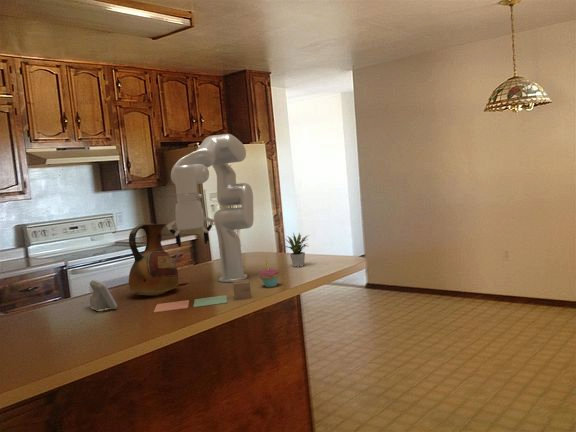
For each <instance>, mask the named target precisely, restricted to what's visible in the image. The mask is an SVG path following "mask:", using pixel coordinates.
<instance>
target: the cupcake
mask: <svg viewBox="0 0 576 432" xmlns="http://www.w3.org/2000/svg"><path fill="white" fill-rule="evenodd" d="M265 263H266V268H264V269H262V270H261V271H260V272H259V274H258V278H259V279H260V280H261V281H262V283H263V285H264V287H265V288H273V287H276V286H277V284H278V280H279V278H280V276H281V273H280V271H279V270H278V269H275V268H272V267H269V262H268V259H267V257H265Z"/></svg>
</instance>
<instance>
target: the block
mask: <svg viewBox="0 0 576 432" xmlns="http://www.w3.org/2000/svg"><path fill="white" fill-rule="evenodd" d="M232 285H233V286H232V288H233V295H234V301H239V300H248V299H252V293H251V281H250V279H247V278H246V279H244V280H239V281H233V282H232Z"/></svg>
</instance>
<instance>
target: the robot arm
mask: <svg viewBox="0 0 576 432" xmlns="http://www.w3.org/2000/svg"><path fill="white" fill-rule="evenodd" d="M246 156H247V150H246V146H245V145H244V144H243V142H242V141H240V139H238V138H237V137H236V136H234V135H233V134H230V133H223V134H215V135H210V136H207V137H205V138H204V139H203V140H202V142H201V143H200V145H199V146H198V147H197V149H196V150H194V151H192V152H190V153H188V154H186V155H185V156H183V157H180V159H178V160H177V161H176V163H175V164H174V165H173V166H172V168H171V171H170V180H171V182H172V184H174V185H175V191H176V192H175V193H176V201H177V203H175V219H174V220H172V221H170V222H169V223H168V224H166V228H167V230H168V231H169V232H170V234H172V235H174V236H175V242H176V245H177V246H178V248H179V247H181V246H182V241H181V239H182V238H181V235H180V233H181V231H189V230H190V231H191V230H199V229H201V230H202V231H203V237H204V238H203V239H204V244H206V245H207V244H208V242H209V231H210V230H211V229H212V227H213V225H214V227H215V231H216V234H217V235H216V236H217V241H218V242H217V243H218V251H219V259H220V267H221V269H220V270H221V276H220V277H219V279H218V280H219V282H221V283H233V281H239V280H247V278H248V274H247V273H244V265H243V264H244V263H243V256H242V246H241V245H242V244H241V239H240V237H239V235H238V233H237V232H236V231H235V230H246V229H247V230H248V229H250V228H252V227H253V225H254V219H255V217H254V193H253V189H252V187H251V185H250V184H249V183H245V182H239V183H237V174H236V172H235V170H234V169H233V168H232V167H231V166H230V165H229V164H231V163H239V162H243V161H244V160H245V159H246ZM210 167H212V168H213V169H214V171H215V174H216V175H215V176H216V194H217V195H216V196H217V197H216V198H217V199H216V200H217V202H218V204H219V206H223V207H228V208H220V209H218V210H216V211H215V212H214V215H213V218H210V217H207V216H205V214H204V209H203V205H202V201H201V200H199V199H202V197H203V195H202V194H200V193H198V185H199V184H201V185H202V184H204V183H206V182H207V181H208V180H209V177H210V170H209V168H210ZM230 206H231V207H230ZM232 206H240V207H232ZM229 207H230V208H229ZM206 222H209V224H208V226H207V227H206V225H205V223H206ZM173 225H175V226H176V229H177V230H175V229H173Z"/></svg>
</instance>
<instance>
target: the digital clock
mask: <svg viewBox="0 0 576 432" xmlns="http://www.w3.org/2000/svg"><path fill="white" fill-rule="evenodd" d="M89 286H90V288H91V289H92V291H93V292H92V294H91V296H89V304H90V308H91V307H93V308H94V309H96V310H99V309H105V308H111V309H115V310H116V309H117V308H118V304H117V303H116V300H115V298H114V296H113V295H112V294H111V292H110V290H109V288H108V286H107V284H106V283H104V282H101V281H100V280H95V279H92V280H90V282H89ZM111 309H110V310H111Z"/></svg>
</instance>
